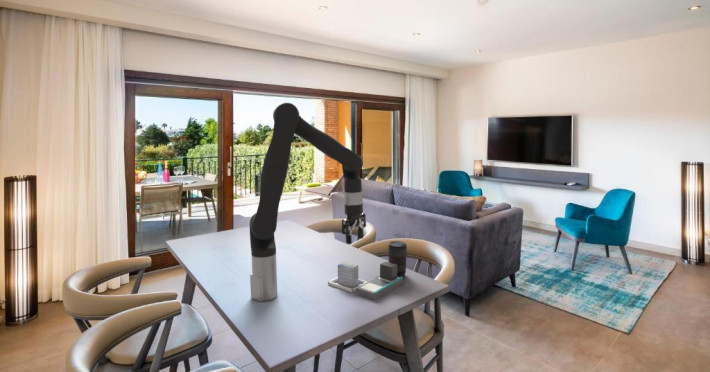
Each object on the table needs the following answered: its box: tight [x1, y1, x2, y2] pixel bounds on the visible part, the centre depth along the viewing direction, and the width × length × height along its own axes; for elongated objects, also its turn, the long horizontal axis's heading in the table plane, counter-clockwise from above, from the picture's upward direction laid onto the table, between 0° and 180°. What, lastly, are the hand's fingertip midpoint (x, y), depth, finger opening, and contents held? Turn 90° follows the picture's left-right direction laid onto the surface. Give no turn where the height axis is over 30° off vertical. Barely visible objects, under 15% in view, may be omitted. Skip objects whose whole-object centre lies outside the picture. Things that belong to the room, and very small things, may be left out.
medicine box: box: [337, 261, 360, 289], centre depth 154 cm, size 8×4×9 cm, turn 58°
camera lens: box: [387, 240, 408, 278], centre depth 162 cm, size 8×8×15 cm
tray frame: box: [327, 276, 369, 294], centre depth 154 cm, size 11×14×1 cm
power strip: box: [356, 261, 404, 301], centre depth 149 cm, size 20×9×9 cm, turn 141°
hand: (354, 240), depth 151 cm, fingers open, 8 cm apart
